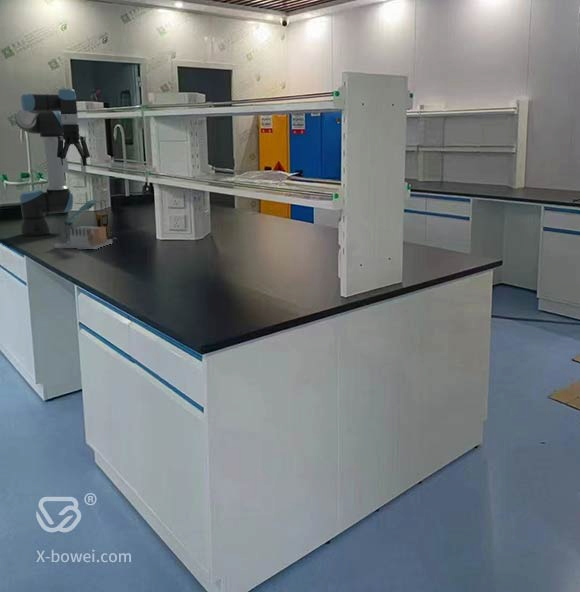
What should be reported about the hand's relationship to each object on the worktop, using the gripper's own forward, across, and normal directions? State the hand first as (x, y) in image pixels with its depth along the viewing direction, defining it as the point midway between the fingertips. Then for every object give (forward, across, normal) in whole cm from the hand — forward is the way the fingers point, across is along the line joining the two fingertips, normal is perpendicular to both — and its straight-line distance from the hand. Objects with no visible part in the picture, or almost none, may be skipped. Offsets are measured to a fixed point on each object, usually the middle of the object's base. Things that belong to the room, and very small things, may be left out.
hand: (75, 172), depth 297 cm
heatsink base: (+36, +1, 0) cm, 36 cm away
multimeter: (+36, +3, +21) cm, 42 cm away
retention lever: (+20, 0, 0) cm, 20 cm away
